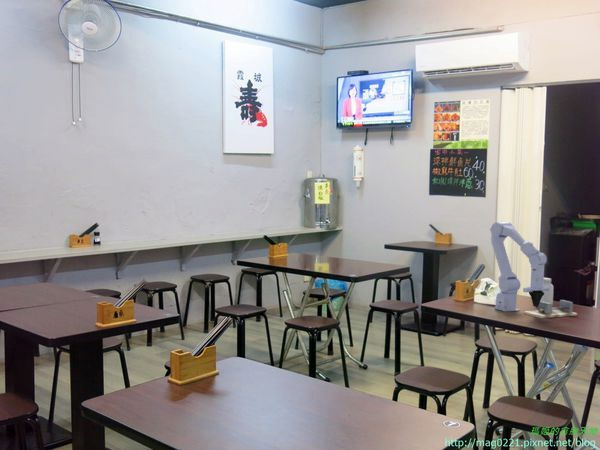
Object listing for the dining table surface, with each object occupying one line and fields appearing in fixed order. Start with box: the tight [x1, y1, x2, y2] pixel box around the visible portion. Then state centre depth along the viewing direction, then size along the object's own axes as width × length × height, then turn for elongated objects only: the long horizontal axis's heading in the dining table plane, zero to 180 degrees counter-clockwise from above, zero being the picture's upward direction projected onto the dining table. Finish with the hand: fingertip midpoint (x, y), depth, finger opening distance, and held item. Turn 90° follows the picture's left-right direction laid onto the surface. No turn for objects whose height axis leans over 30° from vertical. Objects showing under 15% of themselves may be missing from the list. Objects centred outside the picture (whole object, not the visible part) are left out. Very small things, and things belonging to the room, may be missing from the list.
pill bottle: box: [540, 277, 554, 306], centre depth 317 cm, size 8×8×15 cm
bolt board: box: [523, 299, 578, 319], centre depth 300 cm, size 23×11×6 cm, turn 112°
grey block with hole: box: [537, 301, 553, 314], centre depth 299 cm, size 3×6×5 cm, turn 22°
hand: (535, 306), depth 296 cm, fingers closed
